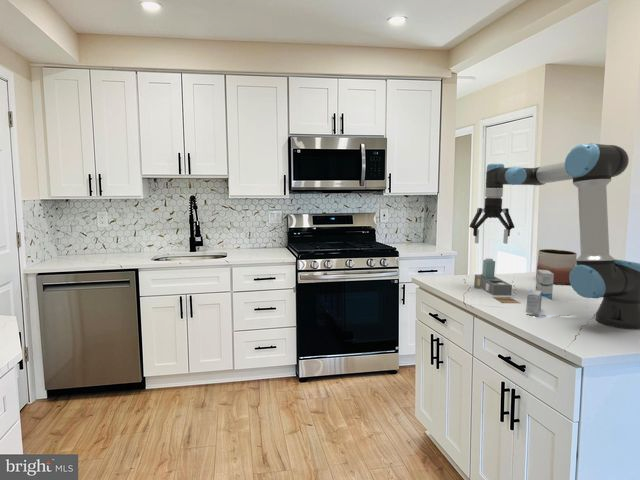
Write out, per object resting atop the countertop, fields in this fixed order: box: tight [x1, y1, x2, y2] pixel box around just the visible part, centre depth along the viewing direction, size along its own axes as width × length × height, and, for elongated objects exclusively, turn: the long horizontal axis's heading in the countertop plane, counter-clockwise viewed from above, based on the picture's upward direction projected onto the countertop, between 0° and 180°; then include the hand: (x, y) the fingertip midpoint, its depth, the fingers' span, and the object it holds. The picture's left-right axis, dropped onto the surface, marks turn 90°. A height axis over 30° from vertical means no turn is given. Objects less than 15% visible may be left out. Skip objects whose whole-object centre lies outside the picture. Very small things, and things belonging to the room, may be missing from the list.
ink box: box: [535, 269, 554, 300], centre depth 197 cm, size 8×5×12 cm, turn 168°
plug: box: [481, 257, 496, 279], centre depth 208 cm, size 4×4×13 cm
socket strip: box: [473, 273, 513, 296], centre depth 204 cm, size 22×8×6 cm, turn 2°
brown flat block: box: [492, 296, 521, 304], centre depth 186 cm, size 10×8×2 cm
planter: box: [535, 248, 578, 285], centre depth 230 cm, size 18×18×16 cm
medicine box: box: [525, 289, 543, 318], centre depth 170 cm, size 8×4×9 cm, turn 148°
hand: (490, 243), depth 206 cm, fingers open, 13 cm apart
